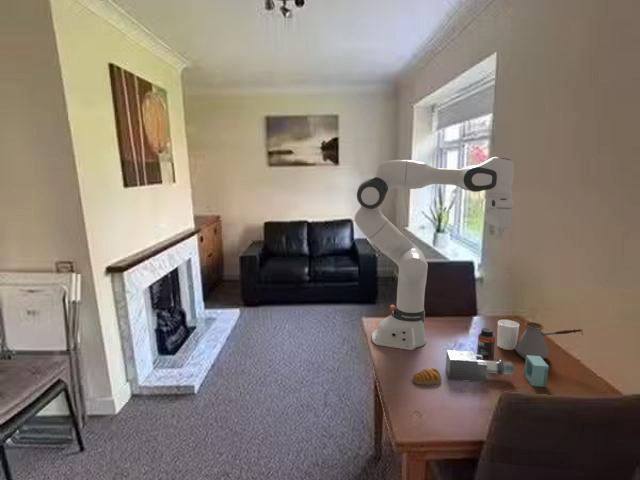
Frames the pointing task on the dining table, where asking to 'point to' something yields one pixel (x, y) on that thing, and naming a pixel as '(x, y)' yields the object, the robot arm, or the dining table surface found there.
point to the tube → (498, 367)
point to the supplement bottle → (486, 344)
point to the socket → (536, 370)
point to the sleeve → (465, 366)
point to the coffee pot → (536, 340)
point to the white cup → (507, 334)
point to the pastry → (427, 377)
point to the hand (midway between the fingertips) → (494, 237)
